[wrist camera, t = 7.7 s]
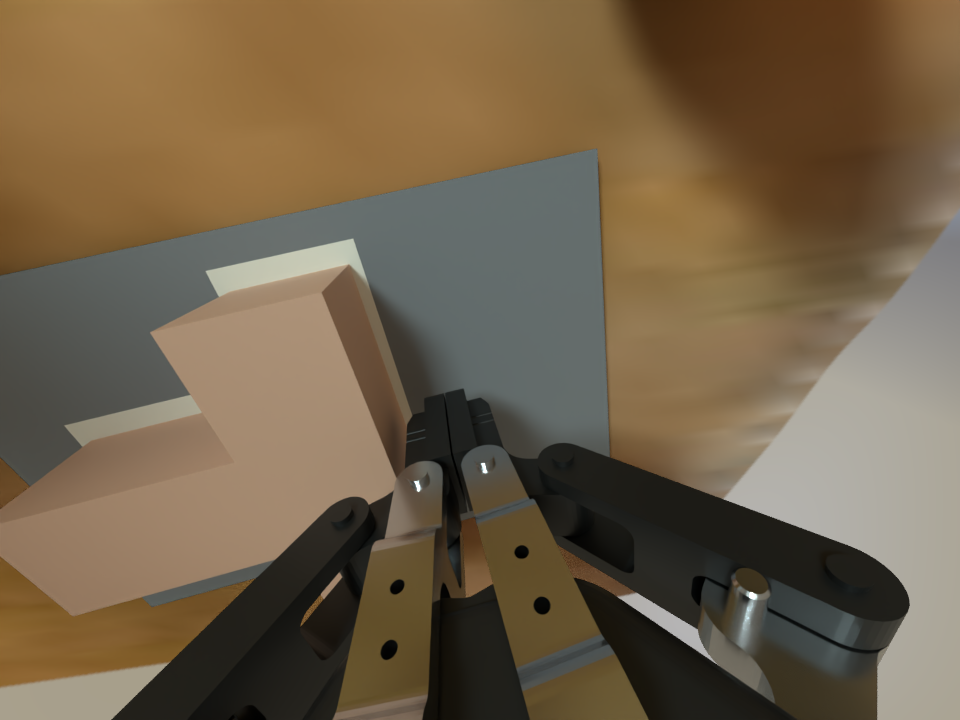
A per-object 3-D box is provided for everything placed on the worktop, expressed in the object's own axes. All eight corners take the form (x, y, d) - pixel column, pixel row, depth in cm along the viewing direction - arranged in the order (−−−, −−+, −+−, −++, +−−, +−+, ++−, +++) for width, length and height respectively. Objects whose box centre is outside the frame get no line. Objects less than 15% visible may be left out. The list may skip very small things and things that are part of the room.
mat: (-128, 303, 11) (-152, 307, 10) (590, 150, 12) (597, 148, 12) (158, 596, 17) (151, 607, 17) (606, 472, 19) (611, 479, 18)
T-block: (7, 342, 11) (-178, 409, 8) (348, 263, 12) (321, 292, 9) (205, 574, 17) (148, 678, 13) (436, 510, 17) (442, 591, 14)
